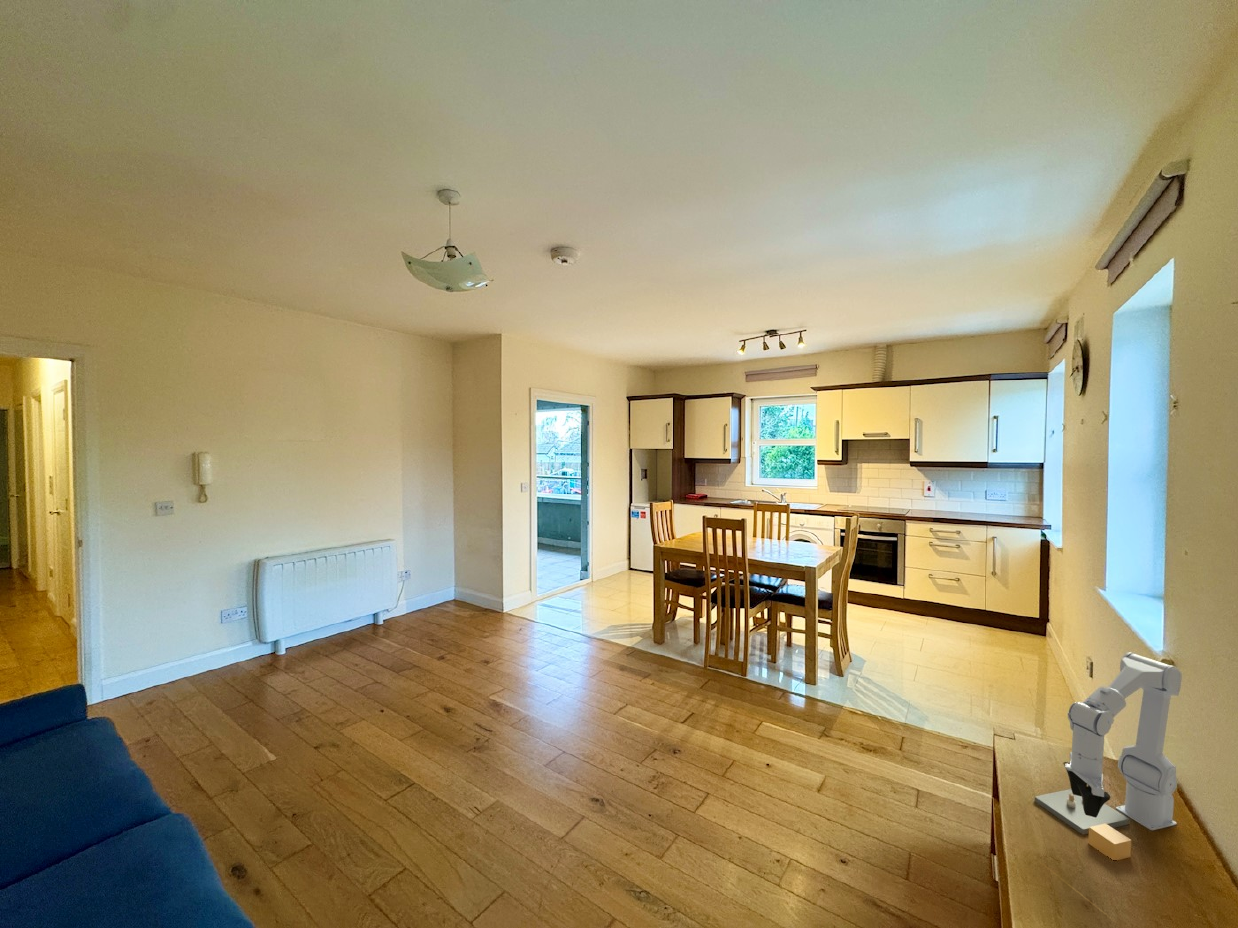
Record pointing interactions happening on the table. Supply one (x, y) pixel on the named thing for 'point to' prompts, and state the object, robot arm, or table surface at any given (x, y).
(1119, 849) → the light wooden brick
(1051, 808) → the flat gray rectangular board
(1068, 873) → the table surface
